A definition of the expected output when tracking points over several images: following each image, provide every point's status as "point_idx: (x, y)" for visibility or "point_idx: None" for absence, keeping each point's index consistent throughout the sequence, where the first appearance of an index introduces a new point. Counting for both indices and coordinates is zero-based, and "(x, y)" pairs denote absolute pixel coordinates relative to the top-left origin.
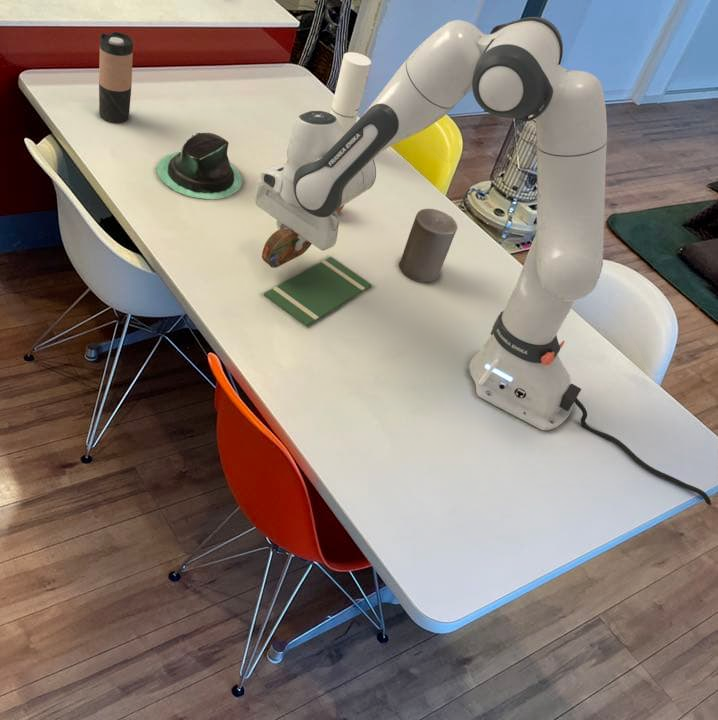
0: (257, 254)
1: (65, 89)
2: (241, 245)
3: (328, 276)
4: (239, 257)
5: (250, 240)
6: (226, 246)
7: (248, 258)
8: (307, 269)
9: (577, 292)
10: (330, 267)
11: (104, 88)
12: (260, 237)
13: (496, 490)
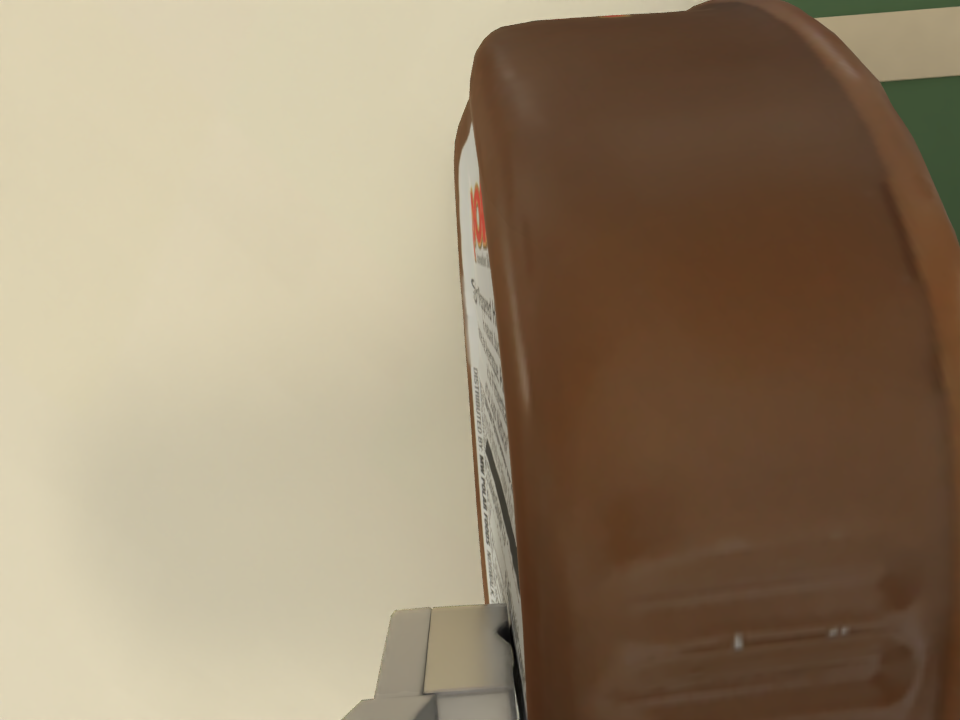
0: (280, 556)
1: None
2: (107, 593)
3: (954, 211)
4: (246, 708)
5: (70, 475)
6: (70, 707)
7: (292, 656)
8: None
9: None
10: (878, 68)
11: None
12: (63, 355)
13: None
